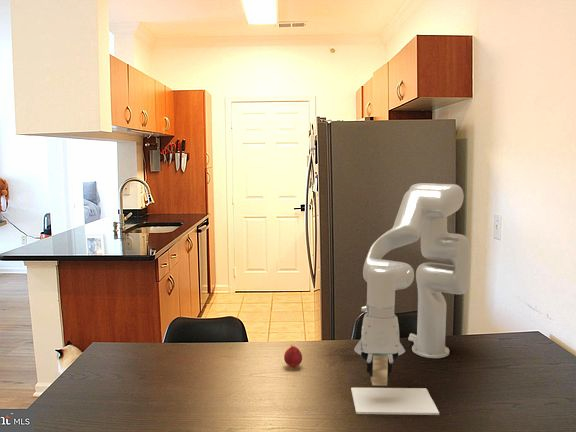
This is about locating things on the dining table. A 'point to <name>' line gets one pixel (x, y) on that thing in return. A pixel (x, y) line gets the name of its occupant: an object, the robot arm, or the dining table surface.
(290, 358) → the onion
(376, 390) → the mat
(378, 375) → the block
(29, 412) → the dining table surface
